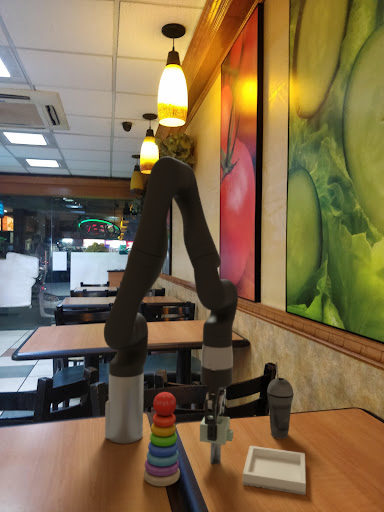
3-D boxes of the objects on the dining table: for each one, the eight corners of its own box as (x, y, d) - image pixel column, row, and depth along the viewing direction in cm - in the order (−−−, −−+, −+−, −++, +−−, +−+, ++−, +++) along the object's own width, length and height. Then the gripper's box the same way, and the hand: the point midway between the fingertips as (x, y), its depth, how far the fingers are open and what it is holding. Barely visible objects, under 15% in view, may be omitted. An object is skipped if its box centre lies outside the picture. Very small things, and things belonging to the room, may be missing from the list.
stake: (208, 463, 94) (209, 426, 94) (211, 458, 96) (211, 422, 96) (219, 465, 93) (220, 428, 93) (221, 459, 96) (222, 423, 96)
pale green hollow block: (199, 441, 93) (200, 424, 93) (205, 430, 98) (205, 414, 98) (230, 445, 91) (230, 428, 91) (234, 434, 97) (234, 417, 97)
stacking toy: (165, 492, 82) (167, 402, 82) (136, 480, 86) (137, 394, 86) (186, 475, 89) (188, 391, 89) (158, 464, 93) (159, 384, 93)
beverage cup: (293, 442, 105) (295, 367, 105) (265, 439, 107) (267, 365, 106) (292, 430, 112) (293, 359, 112) (266, 427, 114) (267, 358, 114)
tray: (242, 484, 86) (242, 473, 86) (249, 455, 98) (249, 445, 98) (305, 495, 82) (305, 483, 82) (304, 463, 95) (304, 453, 95)
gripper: (208, 354, 102) (206, 419, 103) (193, 370, 89) (191, 445, 89) (237, 357, 101) (235, 423, 101) (227, 373, 87) (225, 450, 87)
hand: (215, 433), depth 95 cm, fingers closed on pale green hollow block, 6 cm apart
